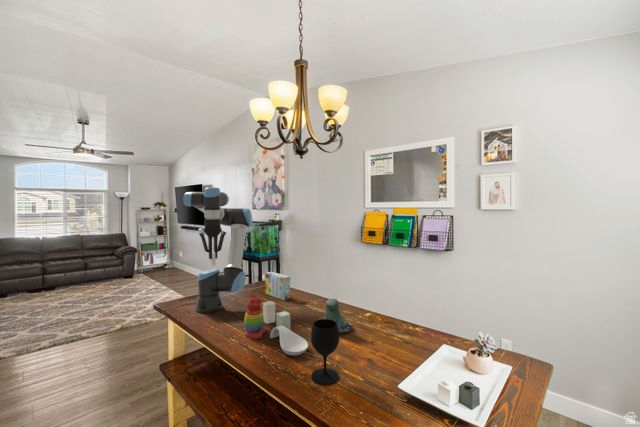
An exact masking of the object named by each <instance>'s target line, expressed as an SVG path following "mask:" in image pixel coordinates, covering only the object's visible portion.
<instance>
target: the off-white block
mask: <svg viewBox="0 0 640 427" xmlns="http://www.w3.org/2000/svg"><path fill="white" fill-rule="evenodd" d="M262 303H263V305H262V313H263V317H264V324H267V325H269V324H272V323H276V302H275V301H273V300H268V301H264V302H262Z"/></svg>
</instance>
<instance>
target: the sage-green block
mask: <svg viewBox="0 0 640 427" xmlns="http://www.w3.org/2000/svg"><path fill="white" fill-rule="evenodd" d="M275 326H276V327H279V326H284V327H286V328H288V329H289V330H291V313H290V312H288V311H285V310H283V311H281V312H280V311H279V312H277V313H276V312H275ZM278 337H280V333H279V336H278Z"/></svg>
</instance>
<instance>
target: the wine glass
mask: <svg viewBox="0 0 640 427" xmlns="http://www.w3.org/2000/svg"><path fill="white" fill-rule="evenodd" d="M310 342H311V345H312V347H313V349H314V350H315V351H316V352H317V353H318V354H319V355H321V356H322V357H323V358H322V359H323V367H322V368H321V367H320V368H317V369H315V370H314V371H312V373H311V375H310V378H311V380H312V382H313V383H315V384H316V385H320V386H331V385H334V384H336V383H337V382H338V381H339V379H340V374H339V373H338V371H336V370H335V369H332V368H330V367H329V368H328V367H327V362H328V361H327V359H328V357H329V355H331V354H332V353H334V352H335V351H336V349H337V348H338V346H339V342H340V334H339V330H338V326H337V323H336V322H335V321H333V320H330V319H324V318H322V319H321V318H320V319H317V320H315V321H314V322H313V324H312V327H311V332H310Z"/></svg>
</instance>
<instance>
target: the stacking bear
mask: <svg viewBox="0 0 640 427" xmlns="http://www.w3.org/2000/svg"><path fill="white" fill-rule="evenodd" d="M246 306H247V310H246V312H245V314H244V318H243V322H244V328H245V331H244V336H245V337H247V338H249V339H255V340H258V339H259V340H260V339H262V338H263V334H264V333H267V332H268V328H267V327H266V326H264V324H265V322H264V317H263V309H262V308H263V302H262V300H261V299H260V298H259V297H256V295H255V296H252V297H250V298H249V299H248V301H247V302H246Z"/></svg>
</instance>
